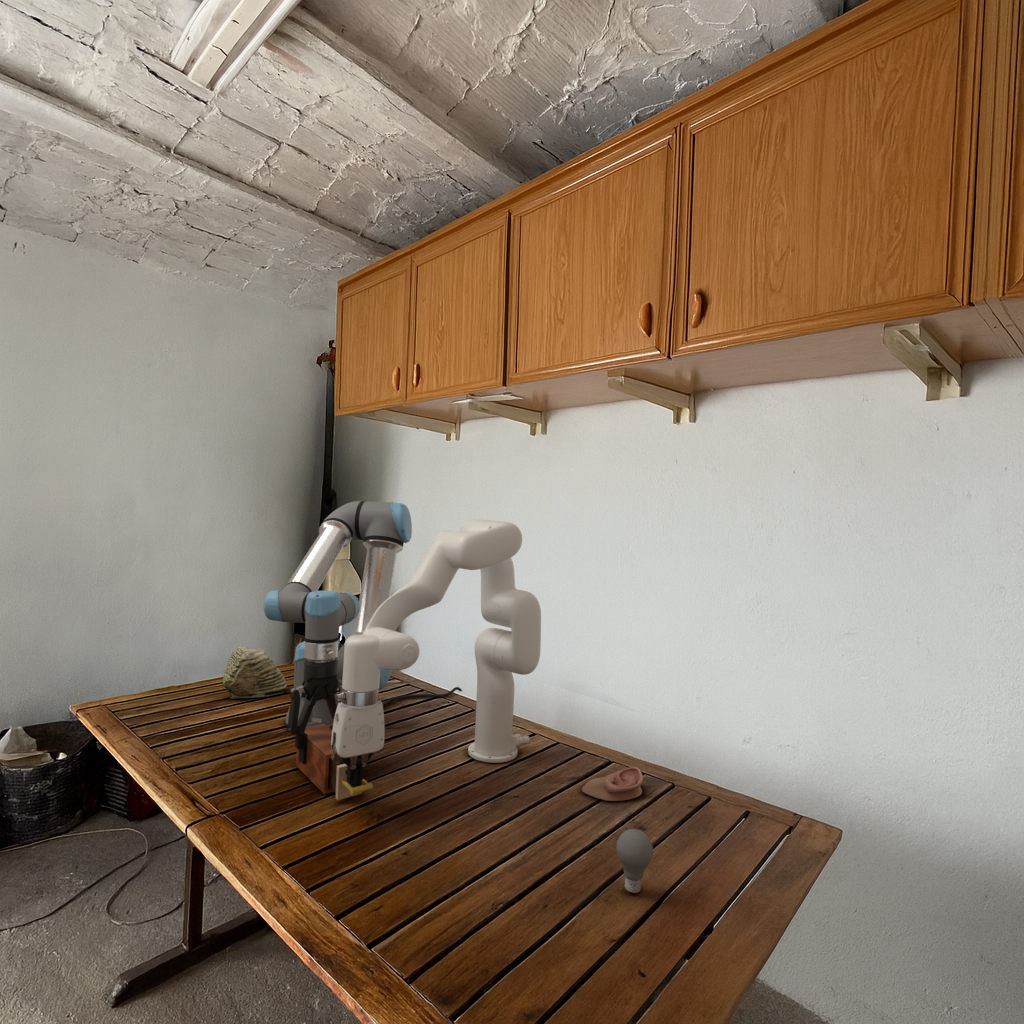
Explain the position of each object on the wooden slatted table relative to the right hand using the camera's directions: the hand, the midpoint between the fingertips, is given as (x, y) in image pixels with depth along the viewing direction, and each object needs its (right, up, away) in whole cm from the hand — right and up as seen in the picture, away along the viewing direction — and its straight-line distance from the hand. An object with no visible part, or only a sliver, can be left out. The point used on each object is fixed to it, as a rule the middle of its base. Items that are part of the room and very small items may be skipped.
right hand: (354, 785), depth 130 cm
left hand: (-12, -1, +16) cm, 20 cm away
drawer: (-5, -3, +7) cm, 9 cm away
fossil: (-48, -1, +68) cm, 83 cm away
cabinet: (-10, -4, +14) cm, 17 cm away
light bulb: (+52, -7, -24) cm, 58 cm away
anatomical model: (+55, -7, +13) cm, 57 cm away
